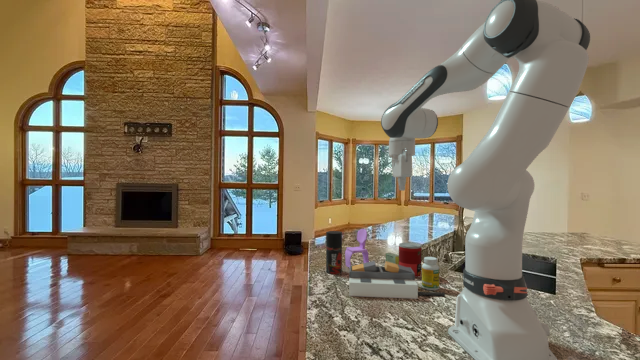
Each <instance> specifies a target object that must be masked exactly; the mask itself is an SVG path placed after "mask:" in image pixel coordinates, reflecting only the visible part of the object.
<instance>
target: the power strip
mask: <svg viewBox="0 0 640 360" xmlns="http://www.w3.org/2000/svg"><path fill="white" fill-rule="evenodd" d="M352 266H353V265H351V266H350V268H348V269H349V271H348V273H349V274H348V277H349V279H348V287H349V288H348V296H349V297H368V298H370V297H371V298H391V299H392V298H395V299H413V300H414V299H416V300H417V299H419V297H418V296H432V297H444V296H445V295H446V294H445V292H440V291H439V292H438V291H437V292H435V291H419V290H418V289H419V287H418V286H419V285H418V282H417V281H416V280H415V279H416V277H415V273H414V272H413V270H412V269H411V267H408V268H409V269H410V271H411V273H397V272H389V271H386V270H385V267H384V266H379V265H378V266H377V265H376V268H377V270H376V271H371V272H365V271H352Z"/></svg>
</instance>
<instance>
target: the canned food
mask: <svg viewBox="0 0 640 360" xmlns="http://www.w3.org/2000/svg"><path fill="white" fill-rule="evenodd" d="M398 255H399V265H401V266H404V267H411V269H412V270H413V272H414V273H415V278H419V277H422V245H421V244H419V243H415V242H401V243H398Z"/></svg>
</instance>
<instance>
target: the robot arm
mask: <svg viewBox="0 0 640 360" xmlns="http://www.w3.org/2000/svg"><path fill="white" fill-rule="evenodd" d="M486 17H487V18H486V19H485V21H484V22H483V23H482V24H481V25H480V26H479V27H478V28H476V30H475V31H474V32H473V33H472V34H471V35H470V36H469V37H468V38H467V39H466V40H465V41H464V43H463V44H462V45H461V46H460V47H459V48H458V50H457V51H455V52H454V53H453V54H452V55H451V56H450V57H448V58H447V59H446V60H445V61H443V62H442V63H440V64H439V65H437V66H435V67H432V68H431V69H430V70H429V71H427V73H425V74H424V75H423V76H422V77H421V78H419V80H418V81H416V83H415V84H414V85H413V86H411V88H410V89H409V90H407V91H406V92H405V94H404V95H403V96H402V97H400V98H399V99H398V100H397V101H396V102H394V103H392V104H391V105H389V106H388V108H387V107H386V109H385V110H384V112H383V114H382V115H381V118H380V119H381V120H380V124H381V125H380V126H381V128H382V130H383V132H384V133H385V135H386V136H387V137H388V138H389V140H388V156H389V158H391V171H392V176H393V178H397V184H398V191H403V192H404V191H405V190H406V185H407V184H406V182H407V178H412V176H413V158H412V156H413V157H414V156H416V139H427V138H430V137H432V136H433V135H434V134H436V131H437V129H438V125H439V118H438V115H437V114H436V111H434V110H433V109H429V108H425V107H424V106H425V105H426V104H427V103H428V102H429V101H430V100H432V99H433V98H436V97H439V96H443V95H446V94H453V93H462V92H469V91H473V90H476V89H477V88H479V87H481V86H482V85H484V84H485V83H487V81H489V80H490V79H492V77H493V76H494V75H495V74H496V73H497V72H498V71H499V70H500V69H501V68H502V67H503V66H504V65H505V64H506V63H507V62H508V61H509V60H511V59H512V58H513V59H514V60H516V61H517V63H518V67H519V68H518V72H517V75H516V77H515V78H514V81H513V82H512V84H511V86H510V87H509V90H508V92H507V94H506V96H505V99H504V100H503V102H502V104H501V106H500V108H499V110H498V112H497V114H496V117H495V119H494V120H493V122H492V124H491V126H490V127H489V129H488V130H487V132H486V133H485V135H484V136H483V138H482V139H481V140H480V142H479V143H478V144H477V146H475V148H474V149H473V150H472V151H471V153H470V154H469V156H468V157H467V158H466V159H465V160H463V162H462V163H461V164H458V165H457V166H456V167H454V169H453V170H452V171H451V172H450V174H449V176H448V179H447V184H446V185H447V192H448V195H449V197H450V198H451V200H452V202H453V203H454V204H456V205H457V206H459V207H460V208H463V209H466V210H469V211H473V212H474V214H473V218H472V220H471V221H472V222H471V224H470V227H469V228H468V230H467V232H466V235H465V240H464V241H465V242H464V245H465V246H464V247H465V248H464V249H465V250H464V251H465V253H464V256H465V260H464V262H465V264H464V265H465V267H464V268H463V270H462V271H463V272H462V285H463V288H462V290H461V291H460V293H459V294H458V295H457V296H456V299H455V300H456V302H455V317H454V325H451V326H450V327H448V330H447V333H448V334H449V336H450V337H451V338H452V339H453V340H454V341H455V342H456V343H457V344H458V345H460V347H461V348H463V349H464V350H465V352H466V353H468V355H470V356H471V357H472V358H473V359H474V360H559V359H557V356H555V354H554V353H553V351H552V350H551V349H550V346H549V338H548V337H549V336H550V332H551V331H550V330H551V329H550V327H549V325H548V323H545V322H544V323H543V322H541V321H540V319H539V317H538V314H537V310H535V309H533V307H532V306H531V304H530V302H529V300H528V295H529V294H528V291H527V290H528V287H527V283H526V281H525V277H524V275H523V239H524V232H525V227H526V224H527V223H526V222H527V218H528V212H529V207H530V201H531V198H532V195H533V194H534V191H535V179H534V178H533V175H532V174H531V173H530V171H528V170H527V169H528V168H529V167H530V165H531V164H532V163H533V162H534V160H535V159H536V158H537V157H538V156H539V155H540V154H541V153H542V152H543V151H545V150H546V149H547V148H548V146H549V145H550V143H551V142H552V139H554V136H555V134H556V132H557V131H558V130H559V128H560V125H561V124H562V122H563V120H564V119H565V117H566V115H567V113H568V111H569V110H570V108H571V106H572V104H573V103H574V101H575V98H576V96H577V94H578V92H579V89H580V87H581V85H582V83H583V80H584V77H585V74H586V72H587V68H588V65H589V61H590V57H589V56H590V55H589V53H588V51H587V50H588V48H589V45H590V43H591V42H590V41H591V34H590V33H591V32H590V31H589V29H588V27H587V25H585V23H584V22H582V21H581V20H580V19H578V18H574V17H572V16H571V15H570V14H568V13H567V12H565V11H563V10H561V9H560V8H559V7H557V6H556V5H553V4H550V3H549V2H545V1H542V0H500V1H499V2H498V3H496V4H495V5H494V7H493V8H492V9H491V10H490V12H489V13H488V15H487V16H486ZM423 107H424V108H423Z"/></svg>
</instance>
